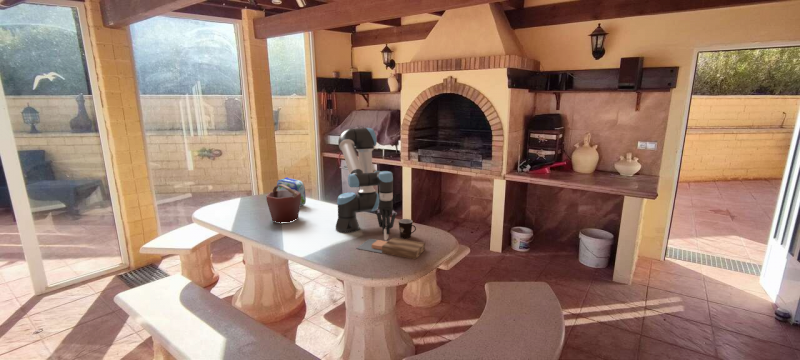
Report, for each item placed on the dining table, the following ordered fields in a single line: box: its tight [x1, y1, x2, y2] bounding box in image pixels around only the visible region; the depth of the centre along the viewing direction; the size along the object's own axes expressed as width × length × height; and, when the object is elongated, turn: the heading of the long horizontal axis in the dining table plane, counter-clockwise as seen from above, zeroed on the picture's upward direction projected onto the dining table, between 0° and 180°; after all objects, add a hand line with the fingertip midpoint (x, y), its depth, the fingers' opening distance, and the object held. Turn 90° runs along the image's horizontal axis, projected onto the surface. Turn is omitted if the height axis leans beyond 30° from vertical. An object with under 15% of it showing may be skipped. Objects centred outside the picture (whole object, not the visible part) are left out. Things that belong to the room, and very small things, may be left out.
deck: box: [381, 237, 426, 260], centre depth 214 cm, size 14×20×4 cm
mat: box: [355, 238, 383, 254], centre depth 222 cm, size 16×16×1 cm
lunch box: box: [276, 177, 307, 207], centre depth 301 cm, size 26×11×21 cm, turn 51°
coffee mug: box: [398, 218, 417, 239], centre depth 234 cm, size 12×9×10 cm
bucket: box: [266, 184, 301, 224], centre depth 264 cm, size 24×22×25 cm
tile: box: [372, 239, 388, 250], centre depth 220 cm, size 8×8×2 cm
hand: (386, 239), depth 218 cm, fingers closed
